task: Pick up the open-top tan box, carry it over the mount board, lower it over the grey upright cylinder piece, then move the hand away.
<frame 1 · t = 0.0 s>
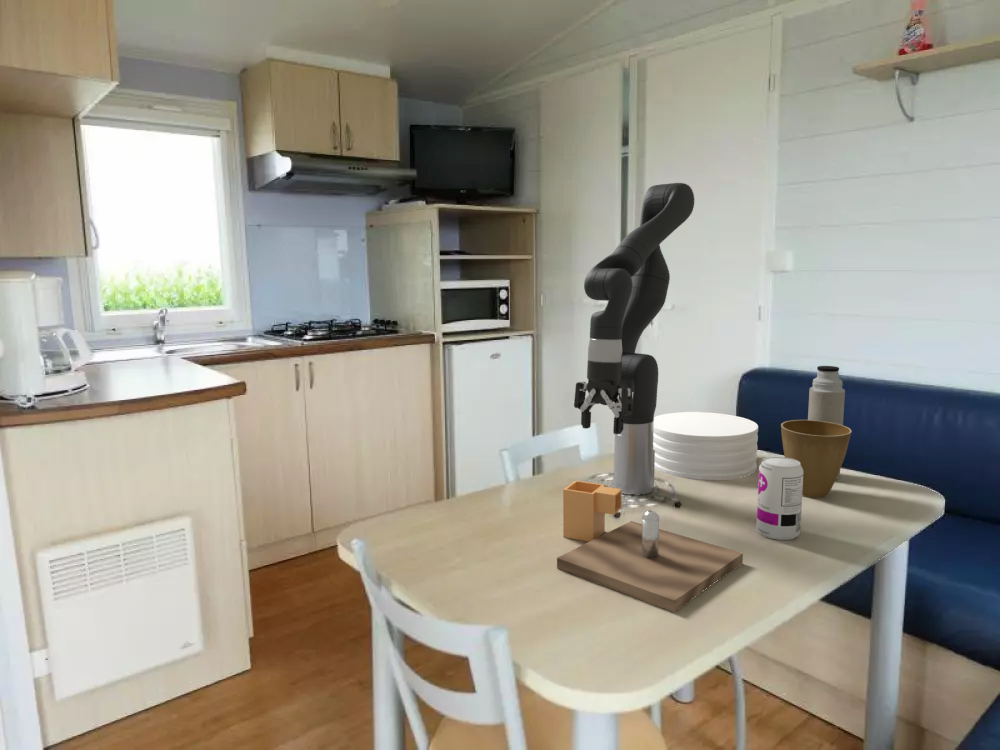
hand: (601, 430, 156), 17 cm above the table, tool pointing down, fingers open, 8 cm apart
plate stack: (701, 465, 189), on the table
open-top tan box: (584, 534, 142), on the table
mount board: (649, 565, 127), on the table
thermos bottle: (822, 476, 176), on the table
supplement can: (777, 534, 140), on the table
grey upright cylinder piece: (650, 533, 126), on the mount board, point 6 cm above the table
plant pot: (811, 493, 164), on the table
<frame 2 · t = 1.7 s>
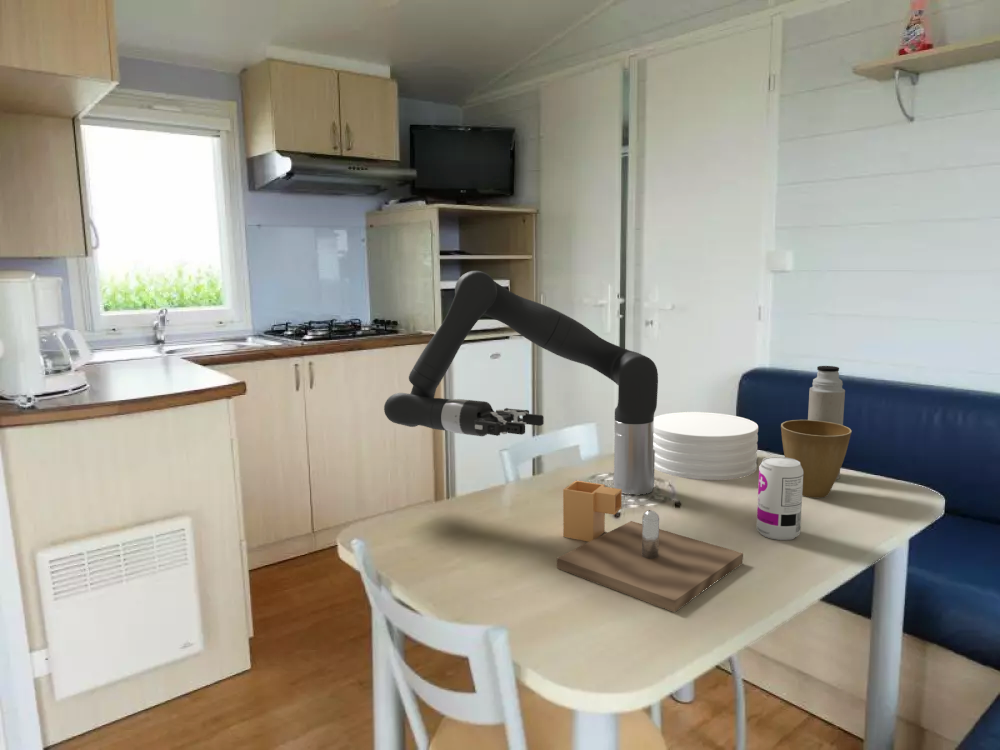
hand: (533, 424, 144), 22 cm above the table, tool horizontal, fingers open, 8 cm apart
nothing on the table moved.
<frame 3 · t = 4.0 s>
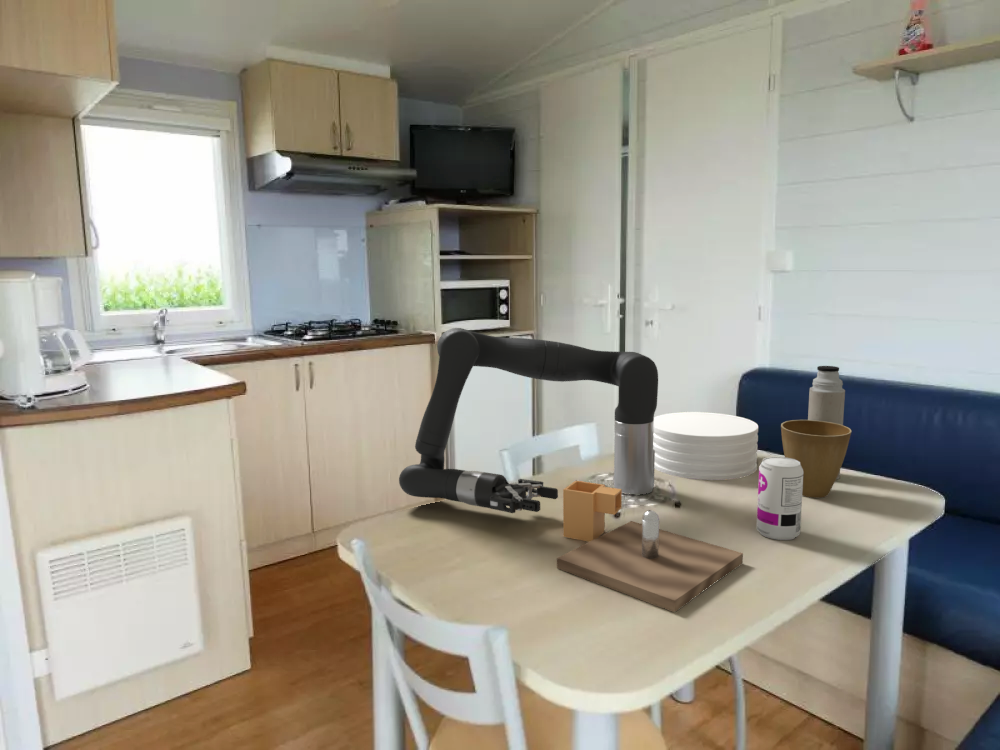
hand: (548, 500, 145), 6 cm above the table, tool horizontal, fingers open, 8 cm apart
nothing on the table moved.
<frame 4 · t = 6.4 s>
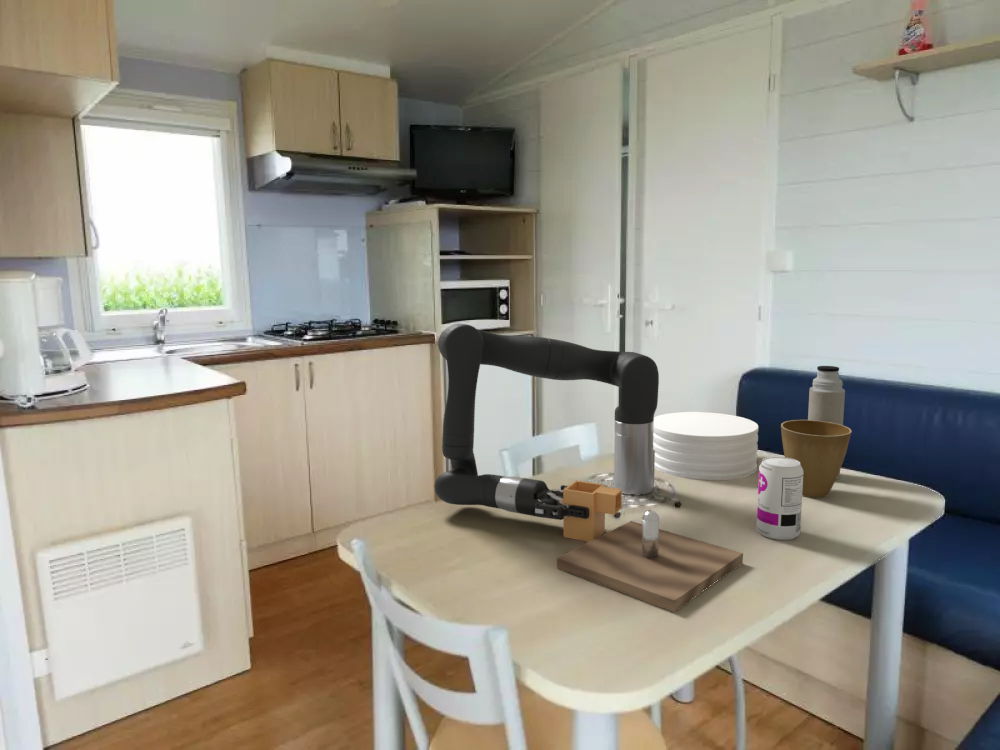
hand: (595, 507, 140), 6 cm above the table, tool horizontal, fingers closed on open-top tan box, 6 cm apart
open-top tan box: (584, 534, 142), on the table, touching gripper
everything else where it was.
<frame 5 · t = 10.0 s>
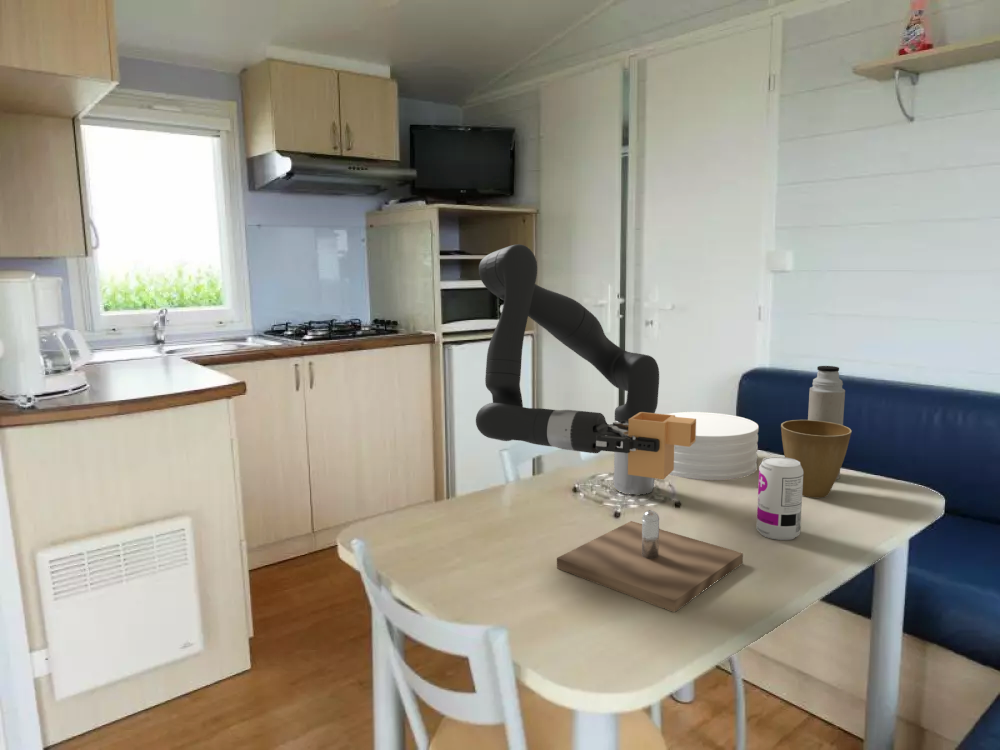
hand: (664, 440, 122), 24 cm above the table, tool horizontal, fingers closed on open-top tan box, 6 cm apart
open-top tan box: (650, 472, 124), point 18 cm above the table, touching gripper
everything else where it was.
when the fingers open (9 cm above the table, at t = 13.9 s): open-top tan box drops 1 cm, resting on mount board.
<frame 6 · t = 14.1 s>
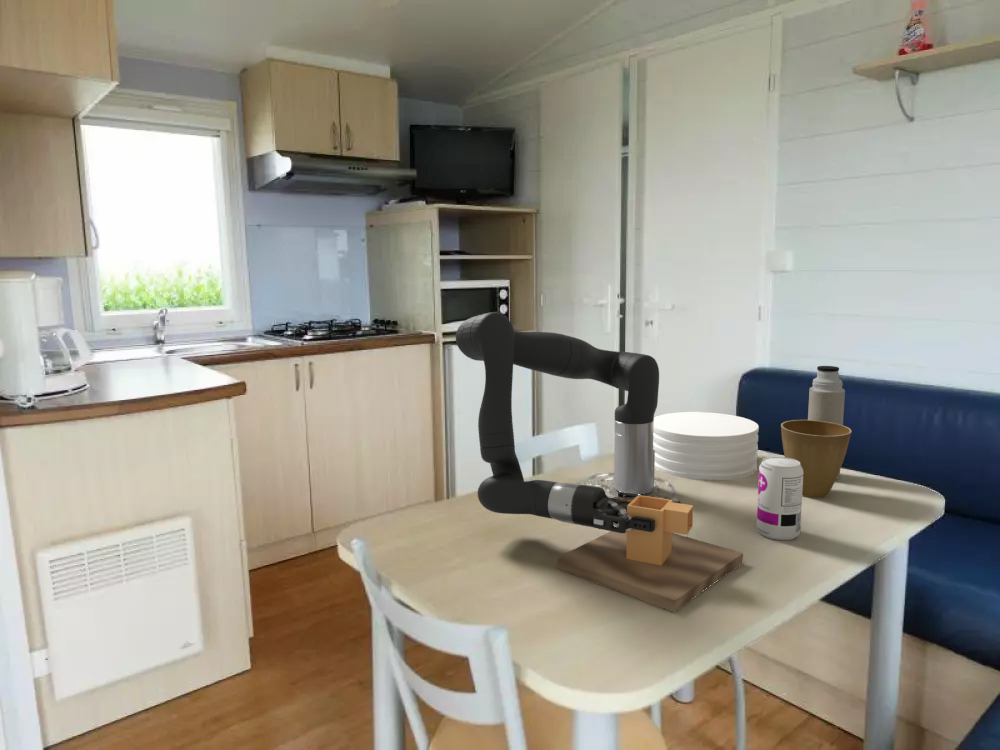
hand: (661, 517, 124), 9 cm above the table, tool horizontal, fingers open, 8 cm apart
open-top tan box: (649, 555, 126), point 2 cm above the table, touching mount board
everything else where it was.
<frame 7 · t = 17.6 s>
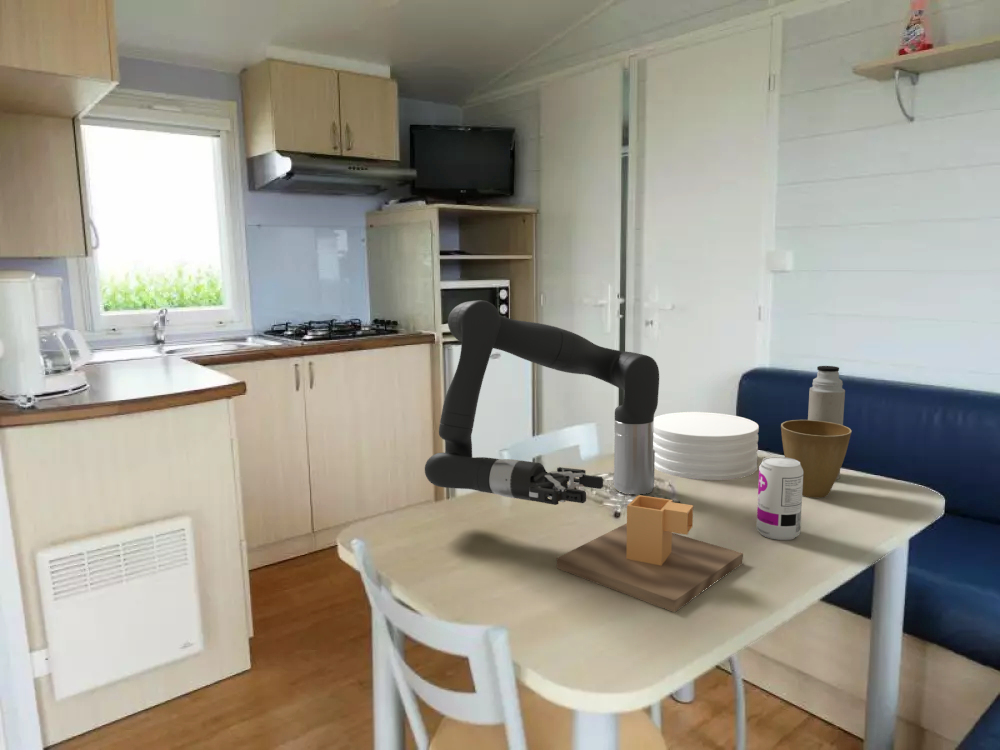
hand: (594, 489, 130), 13 cm above the table, tool horizontal, fingers open, 8 cm apart
nothing on the table moved.
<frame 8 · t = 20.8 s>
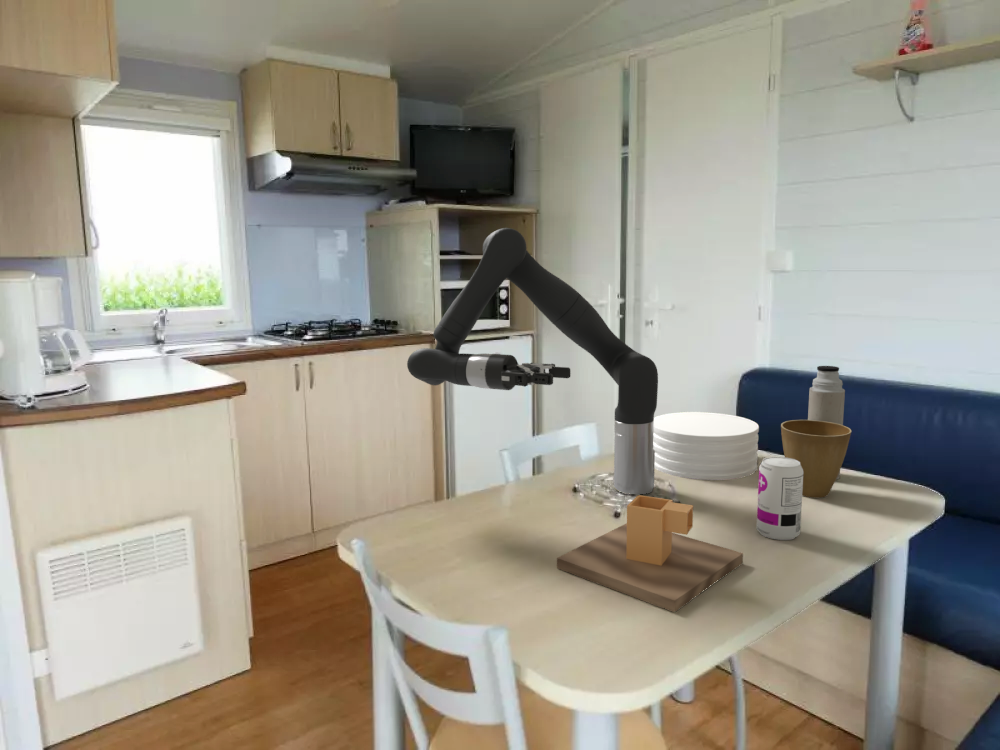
hand: (561, 376, 141), 32 cm above the table, tool horizontal, fingers open, 8 cm apart
nothing on the table moved.
at the end: open-top tan box 0.2 cm from the grey upright cylinder piece (horizontally); open-top tan box point 2.0 cm above the table; open-top tan box tilted 0° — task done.
